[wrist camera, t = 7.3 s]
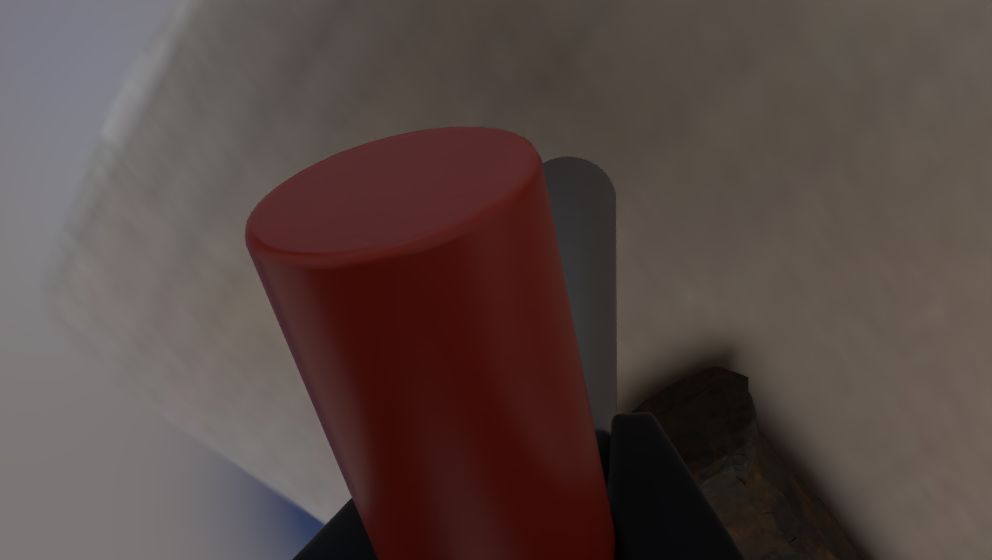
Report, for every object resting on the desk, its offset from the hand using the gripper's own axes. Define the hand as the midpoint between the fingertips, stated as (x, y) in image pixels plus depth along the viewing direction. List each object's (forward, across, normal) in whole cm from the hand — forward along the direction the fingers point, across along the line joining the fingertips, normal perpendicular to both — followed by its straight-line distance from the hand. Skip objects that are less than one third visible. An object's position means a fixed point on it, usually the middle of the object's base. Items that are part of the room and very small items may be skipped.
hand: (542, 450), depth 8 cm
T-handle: (+6, 0, 0) cm, 6 cm away
